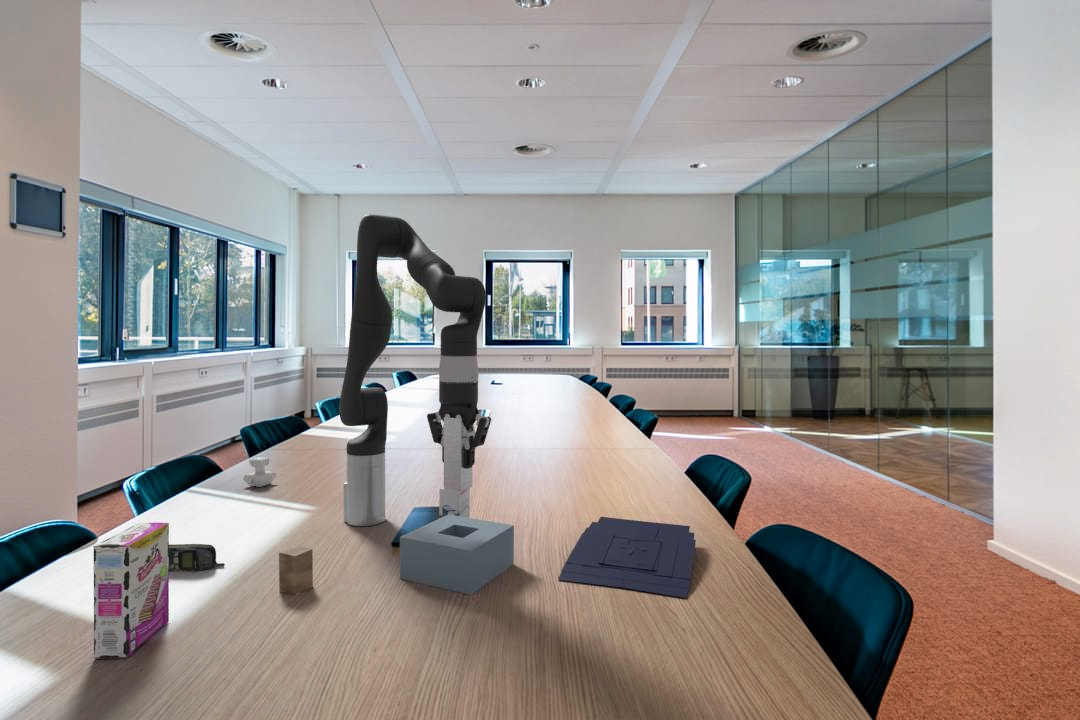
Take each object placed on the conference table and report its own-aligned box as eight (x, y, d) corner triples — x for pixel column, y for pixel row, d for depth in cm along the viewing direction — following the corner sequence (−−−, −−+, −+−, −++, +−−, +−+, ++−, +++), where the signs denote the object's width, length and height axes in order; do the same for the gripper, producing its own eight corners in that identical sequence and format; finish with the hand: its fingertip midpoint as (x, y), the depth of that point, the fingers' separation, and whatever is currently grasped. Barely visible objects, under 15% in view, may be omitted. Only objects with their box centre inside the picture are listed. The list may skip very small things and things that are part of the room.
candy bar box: (129, 659, 84) (127, 545, 83) (92, 660, 84) (90, 546, 83) (172, 621, 95) (170, 520, 95) (139, 622, 95) (137, 521, 94)
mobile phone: (137, 549, 114) (218, 545, 115) (146, 543, 117) (225, 540, 118) (138, 574, 114) (219, 571, 116) (147, 568, 117) (226, 565, 119)
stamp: (259, 490, 176) (259, 461, 176) (240, 488, 178) (239, 460, 177) (279, 482, 185) (279, 456, 184) (260, 481, 186) (260, 454, 186)
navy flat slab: (698, 538, 133) (698, 523, 132) (687, 612, 105) (687, 593, 104) (593, 526, 141) (592, 512, 140) (556, 592, 113) (556, 575, 112)
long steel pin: (443, 489, 115) (443, 417, 114) (455, 484, 118) (455, 414, 118) (461, 491, 113) (461, 418, 112) (472, 486, 117) (472, 416, 116)
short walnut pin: (279, 590, 107) (278, 552, 107) (297, 582, 111) (296, 545, 110) (295, 594, 105) (294, 556, 105) (312, 586, 109) (312, 548, 109)
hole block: (399, 578, 113) (399, 536, 112) (448, 551, 127) (448, 514, 127) (471, 594, 106) (471, 550, 105) (513, 564, 120) (513, 525, 120)
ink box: (451, 527, 143) (451, 479, 143) (470, 529, 142) (471, 480, 142) (437, 539, 135) (437, 488, 134) (458, 541, 134) (459, 489, 133)
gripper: (417, 378, 115) (417, 466, 115) (479, 381, 108) (479, 474, 109) (439, 376, 121) (439, 459, 122) (500, 379, 115) (499, 466, 116)
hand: (458, 466), depth 116 cm, fingers closed on long steel pin, 4 cm apart
